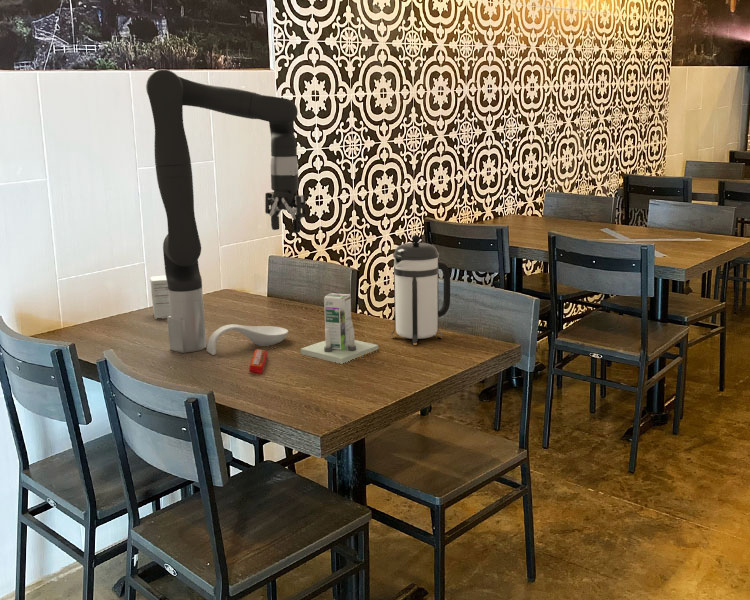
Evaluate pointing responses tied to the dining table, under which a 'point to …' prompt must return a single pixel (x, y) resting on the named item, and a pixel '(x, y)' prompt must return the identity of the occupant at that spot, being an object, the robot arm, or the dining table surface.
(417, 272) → the coffee press
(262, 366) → the candy bar
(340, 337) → the syrup box
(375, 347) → the pale green square stand
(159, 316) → the mini drawer cabinet
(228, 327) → the spoon rest
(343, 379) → the dining table surface
